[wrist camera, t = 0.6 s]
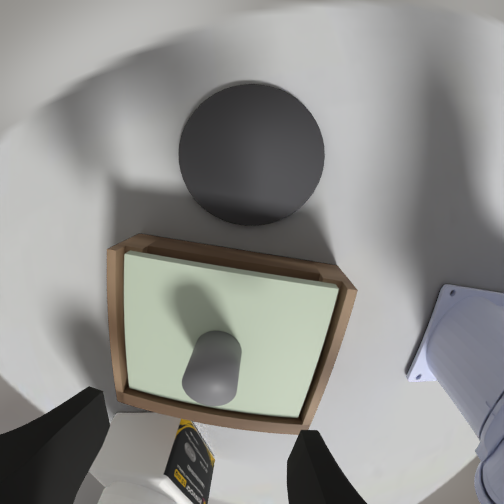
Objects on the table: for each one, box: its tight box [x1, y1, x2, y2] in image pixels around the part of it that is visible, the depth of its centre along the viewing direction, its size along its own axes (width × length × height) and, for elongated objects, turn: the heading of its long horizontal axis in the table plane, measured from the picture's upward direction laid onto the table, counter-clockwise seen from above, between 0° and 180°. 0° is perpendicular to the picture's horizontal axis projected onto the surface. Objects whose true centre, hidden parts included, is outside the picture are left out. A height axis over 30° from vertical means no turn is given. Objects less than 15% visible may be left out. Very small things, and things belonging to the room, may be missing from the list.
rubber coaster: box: [179, 84, 325, 225], centre depth 15 cm, size 8×8×1 cm
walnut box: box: [107, 234, 358, 435], centre depth 16 cm, size 10×12×4 cm
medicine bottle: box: [89, 412, 215, 504], centre depth 15 cm, size 7×7×12 cm
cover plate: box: [124, 250, 339, 418], centre depth 13 cm, size 9×10×4 cm
